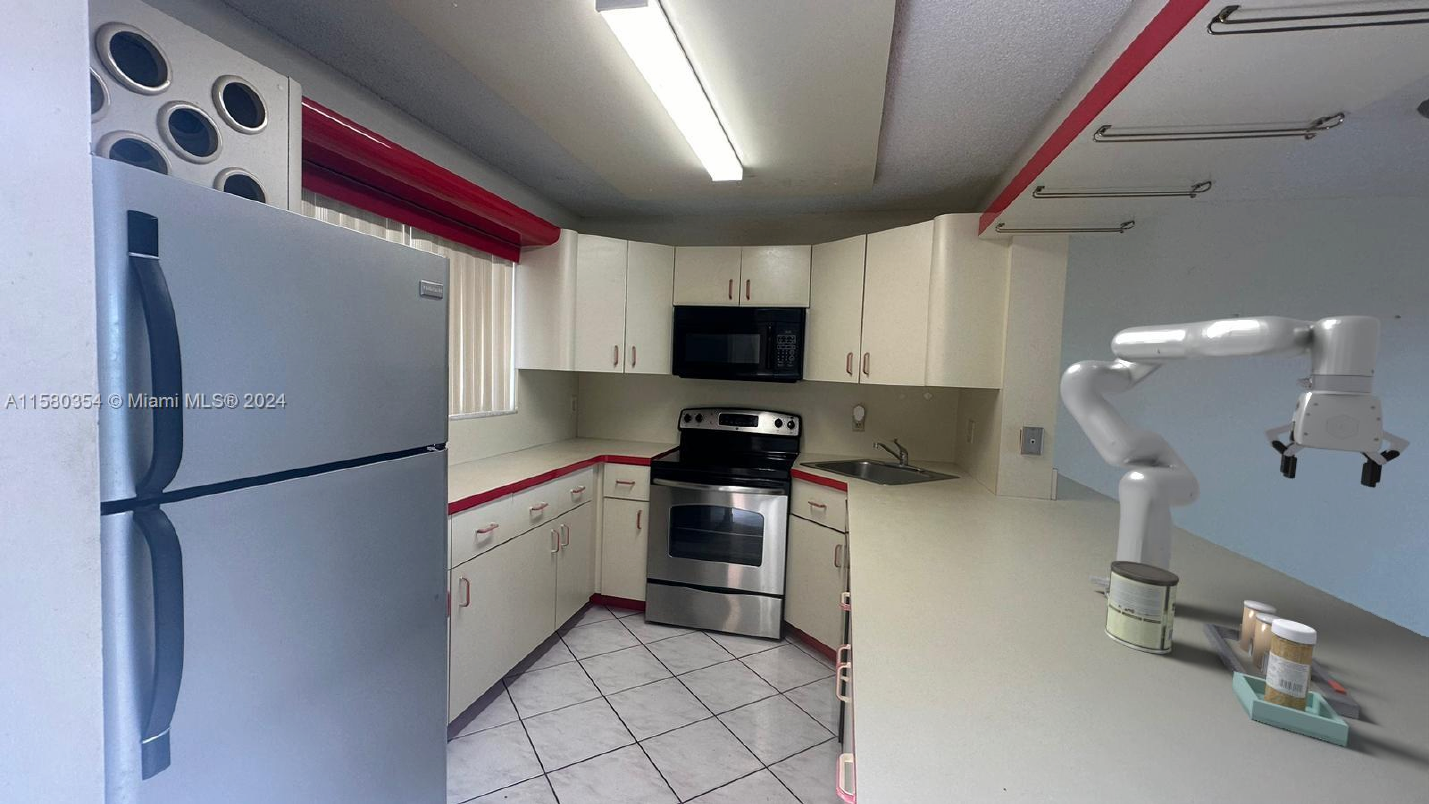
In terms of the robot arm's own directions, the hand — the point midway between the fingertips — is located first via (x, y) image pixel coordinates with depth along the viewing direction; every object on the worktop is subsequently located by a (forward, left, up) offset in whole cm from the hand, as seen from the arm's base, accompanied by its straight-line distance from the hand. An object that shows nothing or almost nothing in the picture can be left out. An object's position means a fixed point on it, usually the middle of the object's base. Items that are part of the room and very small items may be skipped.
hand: (1327, 481), depth 93 cm
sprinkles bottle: (-9, -24, -34) cm, 42 cm away
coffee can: (-25, -8, -34) cm, 43 cm away
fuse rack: (-6, -6, -34) cm, 35 cm away
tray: (-9, -24, -34) cm, 43 cm away
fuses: (-6, -1, -34) cm, 35 cm away
